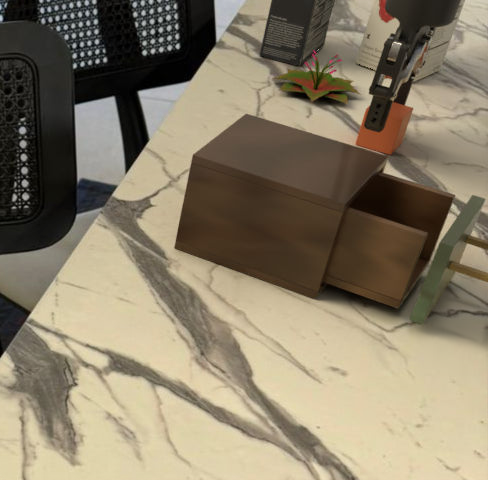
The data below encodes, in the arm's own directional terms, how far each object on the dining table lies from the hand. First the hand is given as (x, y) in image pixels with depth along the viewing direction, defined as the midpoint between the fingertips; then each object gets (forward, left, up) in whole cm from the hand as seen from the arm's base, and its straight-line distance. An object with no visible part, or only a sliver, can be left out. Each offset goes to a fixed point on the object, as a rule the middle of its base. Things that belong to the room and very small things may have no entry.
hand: (383, 118), depth 120 cm
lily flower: (+12, -11, -3) cm, 17 cm away
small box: (+20, -23, -3) cm, 31 cm away
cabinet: (+1, +33, -3) cm, 33 cm away
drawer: (-12, +33, -2) cm, 35 cm away
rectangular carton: (+6, -28, -3) cm, 29 cm away
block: (0, 0, -3) cm, 3 cm away
